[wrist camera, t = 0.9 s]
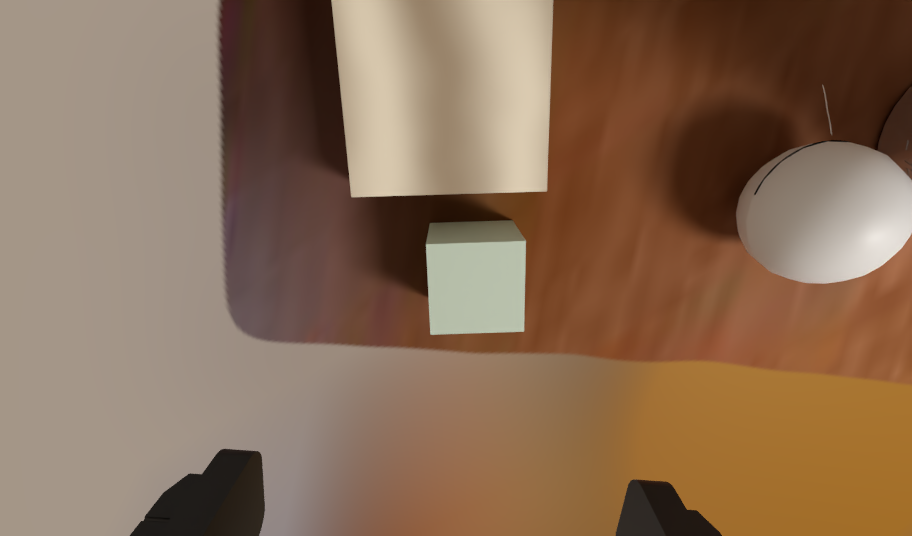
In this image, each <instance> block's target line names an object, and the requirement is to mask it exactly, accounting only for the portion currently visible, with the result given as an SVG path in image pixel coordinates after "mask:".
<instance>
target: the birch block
mask: <svg viewBox="0 0 912 536" xmlns="http://www.w3.org/2000/svg"><path fill="white" fill-rule="evenodd" d="M331 1H332V11H333V21H334V30H335V40H336V50H337V60H338V70H339V80H340V90H341V100H342V110H343V119H344V129H345V139H346V149H347V159H348V169H349V179H350V189H351V197H377V196H410V195H442V194H475V193H507V192H540V191H547V170H548V140H549V111H550V81H551V52H552V22H553V0H331Z"/></svg>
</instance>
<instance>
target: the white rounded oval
mask: <svg viewBox="0 0 912 536" xmlns="http://www.w3.org/2000/svg"><path fill="white" fill-rule="evenodd" d="M822 87H823V91H824V96H825V103H826V110H827V114H828V119H829V125H830V133H831V135H832V128H831V121H830V117H829V112H828V106H827V99H826V93H825V89H824V85H822ZM736 220H737V229H738V233H739V237H740V239H741V241H742V243H743V245H744V247H745V249H746V251H747V252H748V253H749V254H750V255H751V256H752V257H753V258H754V259H756V260H757V261H758V262H759V263H760V264H761V265H763V266H764V267H765V268H766V269H768V270H769V271H770V272H772V273H775V274H777V275H780V276H783V277H785V278H788V279H792V280H796V281H800V282H804V283H833V282H839V281H845V280H849V279H853V278H857V277H861V276H864V275H866V274H868V273H869V272H871V271H873V270H875V269H877V268H878V267H880V266H882V265H883V264H884V263H886V262H887V261H888V260H889V259H890V258H891V257H892V256H894V255H895V254H896V253H897V252H898V251H899V250H900V249H901V248H902V247H903V245H904V244H905V243H906V241H907V240H908V238H909V237H910V235H911V233H912V180H911V179H910V178H909V177H908V176H907V175H906V173H905V172H904V171H903V170H902V169H901V168H900V167H899V166H898V165H897V164H896V163H895V162H894V161H893V160H892V159H891V158H890V157H889V156H888V155H886V154H883V153H881V152H879V151H876V150H874V149H871V148H869V147H866V146H862V145H858V144H855V143H852V142H848V141H841V140H830V141H822V142H818V143H813V144H808V145H804V146H801V147H797V148H794V149H790V150H788V151H786V152H784V153H783V154H781V155H779V156H778V157H776V158H774V159H773V160H771V161H770V162H768V163H767V164H765V165H764V166H762V167H761V168H760V169H759V170H758V171H757V172H756V173H755V174H754V175H753V176H752V177H751V178H750V180H749V181H748V182H747V184H746V186H745V188H744V189H743V191H742V193H741V195H740V197H739V201H738V205H737V210H736Z"/></svg>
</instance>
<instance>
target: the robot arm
mask: <svg viewBox="0 0 912 536" xmlns="http://www.w3.org/2000/svg"><path fill="white" fill-rule="evenodd" d="M877 151H879V152H881V153H883V154H886V155H888V156H889V157H890V158H891V159H892V160H893V161H894V162H895V163H896V164H897V165H898V166H899V167H900V168H901V169H902V170H903V171H904V172H905V173H906V175H907V176H908V177H909V178H910V179H911V180H912V86H911V87H910V88H909V89H908V90H907V92H906V93H905V94H904V95H903V97H902V98H901V99H900V100H899V102H898V103H897V104H896V105H895V107H894V109H893V110H892V112H891V114H890V116H889V118H888V119H887V121H886V123H885V125H884V128H883V131H882V134H881V137H880V139H879V144H878V150H877ZM264 511H265V502H264V486H263V469H262V457H261V454H260V452H258V451H246V450H232V449H222V450H220V451H219V452H218V453H217V454H216V456H215V457H214V458H213V460H212V461H211V463H210V464H209V465H208V467H207V468H206V470H205V471H204V472H203V474H188V475H187V476H185V477H184V478H183V479H181V480H180V481H179V482H177V483H176V484H175V485H173V486H172V487H171V488H169V489H168V490H167V491H165V492H164V493H163V494H162V495H161V497H160V498H159V499H158V500H157V502H156V503H155V504H154V506H153V507H152V508H151V510H150V511H149V512H148V513H147V514H146V516H145V519H144V521H141V522H140V523H139V525H138V526H137V527H136V528H135V530H134V531H133V532H132V533H131V535H130V536H259V534H260V531H261V527H262V523H263V518H264ZM616 536H722V535H721V534H720V532H719V531H718V530H717V529H716V528H714V527H713V526H712V525H711V524H710V523H709V522H708V521H707V520H706V519H705V518H704V517H703V516H702V515H701V514H700V513H699V512H698V511H696V510H687V509H686V508H685V506H684V504H683V503H682V501H681V499H680V497H679V496H678V494H677V493H676V491H675V489H674V488H673V486H672V485H671V484H670V483H668V482H662V481H647V480H632V481H630V483H629V485H628V488H627V492H626V496H625V500H624V504H623V508H622V512H621V515H620V519H619V523H618V527H617V532H616Z"/></svg>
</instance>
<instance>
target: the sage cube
mask: <svg viewBox="0 0 912 536" xmlns="http://www.w3.org/2000/svg"><path fill="white" fill-rule="evenodd" d="M525 255H526V241H525V239H524V237H523V236H522V234H521V233H520V231H519V230H518V228H517V226H516V225H515V223H514V222H513V220H505V221H474V222H442V223H430V225H429V230H428V235H427V241H426V257H427V276H428V295H429V314H430V333H431V335H435V334H465V333H495V332H524V307H525Z"/></svg>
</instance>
